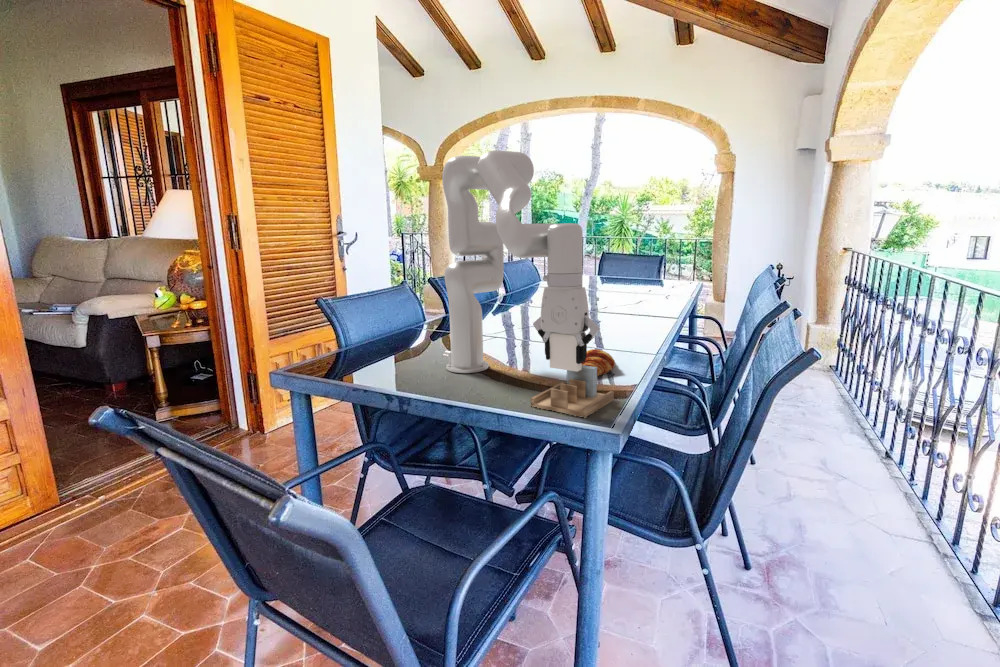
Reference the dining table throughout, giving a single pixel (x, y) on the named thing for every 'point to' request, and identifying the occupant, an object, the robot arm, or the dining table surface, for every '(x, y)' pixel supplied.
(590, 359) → the croissant
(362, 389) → the dining table surface
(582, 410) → the dish rack
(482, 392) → the dining table surface
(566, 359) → the low beige gift box
